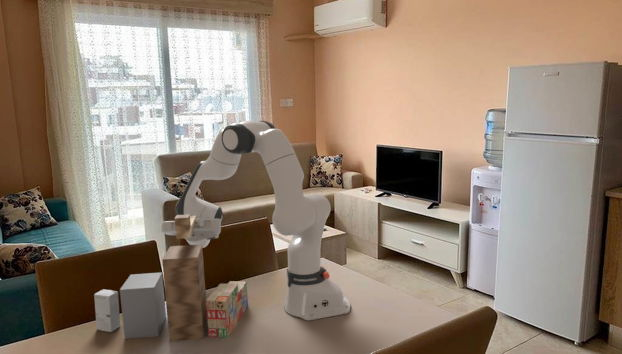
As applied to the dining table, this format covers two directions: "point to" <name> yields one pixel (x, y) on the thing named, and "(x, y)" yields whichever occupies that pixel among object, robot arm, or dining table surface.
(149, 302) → the pale grey upright box
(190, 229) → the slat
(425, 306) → the dining table surface
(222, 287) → the stack of blocks
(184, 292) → the tall stand
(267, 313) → the dining table surface
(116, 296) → the skincare box
